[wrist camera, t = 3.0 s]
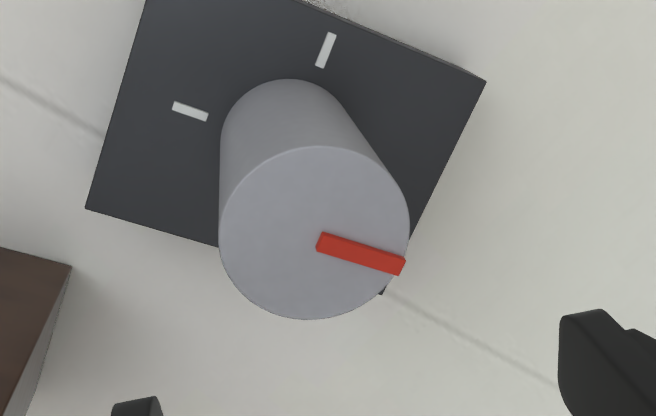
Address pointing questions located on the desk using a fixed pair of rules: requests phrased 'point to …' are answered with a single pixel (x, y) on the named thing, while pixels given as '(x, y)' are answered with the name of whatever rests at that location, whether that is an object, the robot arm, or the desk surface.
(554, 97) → the desk surface
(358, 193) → the grey round cylinder
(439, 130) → the dark grey panel
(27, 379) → the stand
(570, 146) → the desk surface
